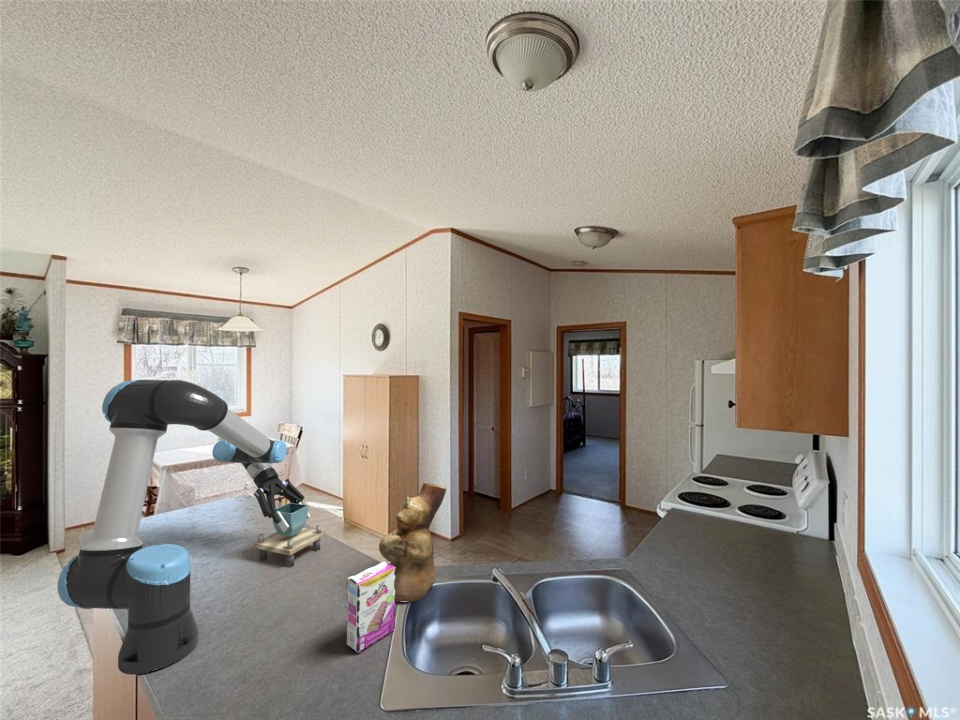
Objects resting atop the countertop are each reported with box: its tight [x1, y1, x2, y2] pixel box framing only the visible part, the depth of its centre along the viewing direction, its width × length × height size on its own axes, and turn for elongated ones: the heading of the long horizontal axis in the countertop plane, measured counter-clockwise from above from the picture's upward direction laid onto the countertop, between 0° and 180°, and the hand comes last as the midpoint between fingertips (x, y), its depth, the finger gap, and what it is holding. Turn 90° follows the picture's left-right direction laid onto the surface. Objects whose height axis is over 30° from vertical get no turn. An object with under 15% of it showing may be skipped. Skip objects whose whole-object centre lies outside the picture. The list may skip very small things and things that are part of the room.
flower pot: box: [272, 502, 310, 536], centre depth 146 cm, size 9×9×9 cm
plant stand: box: [253, 524, 326, 568], centre depth 146 cm, size 16×16×8 cm
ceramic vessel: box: [378, 481, 447, 604], centre depth 126 cm, size 16×22×30 cm
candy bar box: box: [346, 561, 396, 653], centre depth 102 cm, size 11×5×16 cm, turn 141°
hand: (297, 523), depth 145 cm, fingers closed on flower pot, 9 cm apart
